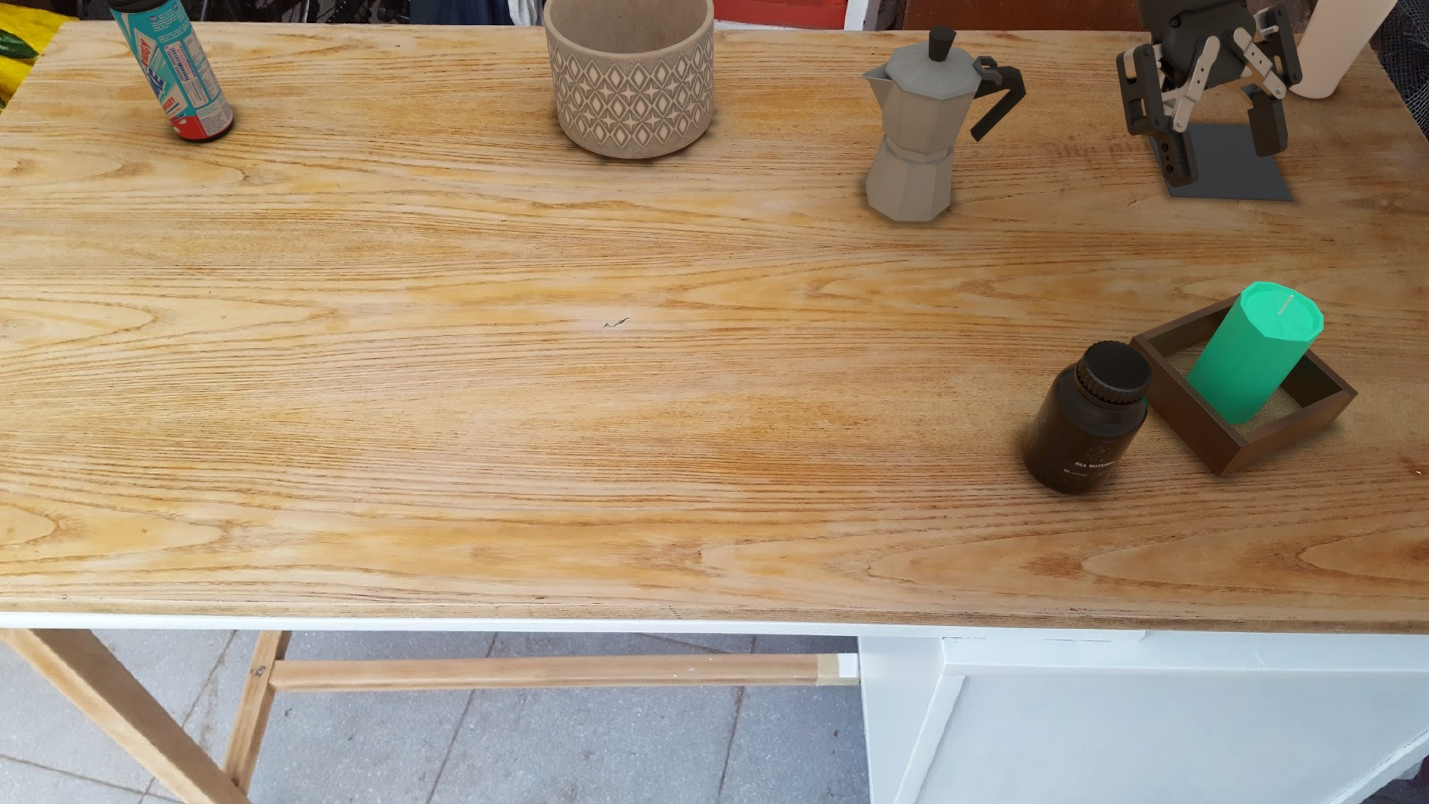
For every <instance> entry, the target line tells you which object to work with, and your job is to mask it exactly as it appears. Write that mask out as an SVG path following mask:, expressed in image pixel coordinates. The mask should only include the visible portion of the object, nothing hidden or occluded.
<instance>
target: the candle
mask: <svg viewBox="0 0 1429 804" xmlns="http://www.w3.org/2000/svg"><path fill="white" fill-rule="evenodd" d="M1240 293H1241V294H1240V295H1239V297H1238V299H1237V300H1236V302H1235V303H1234V305H1233V306H1232V308H1231V309H1230V311H1229V312H1228V314H1227V315H1226V317H1225V319H1224V320H1223V322H1222V323H1221V325H1220V326H1219V328H1218V329H1217V331H1216V332H1215V334H1214V336H1213V337H1211V338H1210V340H1209V342H1208V343H1207V345H1206V346H1205V348H1203V349H1204V350H1203V351H1202V352H1201V354H1200V356H1199V357H1198V359H1197V360H1196V361H1195V363H1194V365H1193V366H1192V368H1191V370H1190V371H1189V372H1188V374H1187V375H1186V378H1185V379H1186V380H1187V381H1188V382H1189V383H1190V384H1191V385H1192V386H1193V387H1194V388H1195V390H1196V391H1197V392H1198V393H1199V394H1200V395H1201V396H1202V397H1203V398H1204V399H1205V400H1206V401H1207V402H1208V403H1209V404H1210V405H1211V406H1212V407H1213V408H1214V409H1215V410H1216V411H1217V412H1218V413H1219V414H1220V415H1221V416H1222V417H1223V418H1224V419H1225V420H1226V421H1227V422H1228V423H1229V424H1230V425H1237V424H1238V425H1239V424H1246V423H1247V422H1249V421H1250V420H1251V419H1253V418H1254V417H1256V416H1257V415H1258V414H1259V412H1260V411H1261V410H1262V408H1263V407H1264V406H1265V404H1267V402H1268V401H1269V399H1270V398H1271V397H1272V396H1273V394H1274V393H1275V392H1276V390H1277V389H1278V388H1279V387H1280V384H1281V383H1282V381H1283V380H1284V379H1285V378H1286V376H1287V375H1288V374H1289V372H1290V371H1291V370H1292V369H1293V367H1294V366H1295V365H1296V363H1297V362H1298V361H1299V360H1300V358H1301V357H1302V356H1303V355H1304V353H1305V352H1306V351H1307V349H1308V348H1309V349H1310V347H1311V346H1312V344H1313V343H1314V342H1315V340H1316V339H1317V338H1318V337H1319V336H1320V335H1321V333H1322V332H1323V330H1324V318H1325V317H1324V316H1325V315H1324V314H1323V313H1322V311H1321V310H1320V309H1319V307H1318V306H1317V304H1316V303H1315V301H1314V300H1313V299H1310V298H1309V297H1307V296H1305V295H1303V294H1302V293H1300V292H1299V291H1297V290H1295V289H1292V288H1290V287H1287V286H1284V285H1282V284H1279V283H1277V282H1273V281H1257V280H1255V281H1254V282H1253V283H1251V284H1250V285H1249V286H1247V287H1246V288H1244V289H1243V290H1242V291H1241V292H1240Z"/></svg>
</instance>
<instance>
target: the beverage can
mask: <svg viewBox="0 0 1429 804" xmlns="http://www.w3.org/2000/svg"><path fill="white" fill-rule="evenodd" d="M105 3H106V5H107V7H108V8H109V10H110V13H111V15H112V16H113V19H114V20H115V22H116V24H117V26H118V28H119V30H120V31H121V33H122V35H123V37H124V39H125V41H126V43H127V45H128V47H129V49H130V51H131V53H132V54H133V56H134V59H135V60H136V61H137V63H138V65H139V67H140V69H141V72H142V73H143V75H144V76H145V78H146V80H147V82H148V84H149V86H150V87H151V89H152V91H153V93H154V95H155V97H156V99H157V100H158V102H159V104H160V106H161V108H162V110H163V112H164V114H165V116H166V117H167V120H168V121H169V123H170V125H171V126H172V128H173V130H174V132H175V133H176V134H177V136H179V137H180V138H181V139H183V140H185V141H187V142H189V143H190V142H191V143H207V142H211V141H214V140H216V139H219V138H221V137H223V136H225V134H227V133H228V132H229V131H230V130H231V129H232V127H233V125H234V113H233V110H232V109H231V106H230V104H229V102H228V100H227V97H226V96H225V93H224V91H223V89H222V87H221V85H220V83H219V81H218V78H217V76H216V75H215V72H214V70H213V68H212V65H211V63H210V61H209V59H208V57H207V55H206V52H205V51H204V48H203V46H202V43H201V41H200V40H199V38H198V35H197V33H196V31H195V29H194V27H193V25H192V23H191V21H190V19H189V16H188V14H187V12H186V10H185V8H184V6H183V4H182V2H181V0H105Z"/></svg>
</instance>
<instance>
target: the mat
mask: <svg viewBox="0 0 1429 804" xmlns="http://www.w3.org/2000/svg"><path fill="white" fill-rule="evenodd" d="M1186 131H1190V134H1191V138H1192V143H1193V148H1194V153H1195V157H1196V162H1197V167H1198V172H1199V180H1198V181H1197V182H1195V183H1192V184H1189V185H1185V186H1179V187H1172V186H1171V185H1170V184H1169V182H1168V181H1167V180H1166V179H1165V177H1164V175H1163V171H1162V166H1161V161H1160V157H1159V152H1158V148H1157V143H1156V141H1155V139H1154V138H1152V137H1151V136H1147V137H1148V139H1149V142H1150V144H1151V147H1152V150H1153V153H1154V155H1155V158H1156V160H1157V163H1158V166H1159V169H1160V171H1161V174H1162V177H1163V179H1164V182H1165V185H1166V187H1167V190H1168V193H1169V196H1170V197H1171V198H1193V199H1194V198H1196V199H1220V200H1243V201H1244V200H1249V201H1270V202H1271V201H1272V202H1273V201H1274V202H1294V200H1295V199H1294V198H1293V196H1292V195H1291V191H1290V190H1289V188H1288V186H1287V184H1286V182H1285V179H1284V178H1283V176H1282V173H1281V171H1280V169H1279V167H1278V166H1277V163H1276V161H1275V159H1274V157H1273V155H1269V156H1264V157H1259V156H1258V155H1257V154H1256V152H1255V147H1254V142H1253V137H1252V132H1251V127H1250V124H1249V125H1247V124H1245V125H1244V124H1221V123H1220V124H1219V123H1216V124H1215V123H1194V122H1193V123H1191V122H1188V124H1187V127H1186V129H1185V130H1184V131H1183V132H1186Z"/></svg>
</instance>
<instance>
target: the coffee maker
mask: <svg viewBox="0 0 1429 804" xmlns="http://www.w3.org/2000/svg"><path fill="white" fill-rule="evenodd" d="M956 37H957V31H956V30H955V29H953V28H952V27H950V26H946V25H941V24H940V25H936V26H932V27H931V28H930V30H929V32H928V40H925V41H921V42H918V43H913V44H908V45H906V46H902V47H896V48H894V50H893V52H892V54H891V56H890V57H889V60H888V61H886V62H884V63H882V64H880V65H878V66H876V67H874V68H872V69H870V70H867V71H865V72H864V73H861V74H860V77H861V78H863V79H865V80H866V81H868V82H869V85H870V87H871V90H872V92H873V94H874V96H875V99H876V101H877V103H878V106H879V108H880V110H881V120H882V121H881V122H882V130H883V132H884V134H883V135H882V138H881V141H880V143H879V145H878V148H877V150H876V154H875V156H874V159H873V161H872V163H871V167H870V169H869V171H868V174H867V177H866V180H865V183H864V185H865V189H866V190H865V192H866V197H867V202H868V206H869V207H871V208H872V209H875V210H876V211H877V212H879V213H881V214H883V215H884V216H886V217H887V218H889V219H891V220H893V221H895V222H931V221H932V220H933V219H934V218H935V217H937V216H938V215H939V214H940V213H942V212H943V211H944V210H945V209H947V208H948V207H949V206H950V205H951V195H952V179H953V164H954V146H955V143H956V142H957V138H958V136H959V134H960V132H961V129H962V127H963V124H964V123H965V120H966V117H967V115H968V112H969V109H970V108H971V105H972V102H973V100H976V99H979V98H984V97H986V96H989V95H992V94H995V93H999V92H1002V91H1004V90H1005V91H1006V90H1008V91H1007V92H1006V93H1005V94H1004V96H1002V97H1001V98H1000V100H998V102H996V104H994V106H992V107H991V108H990V109H989V110H988V111H987V112H986V113H985V115H983V116H982V117H981V118H980V120H978V121H977V122H976V123H975V124H974V126H972V127H971V128H970V129H969V131H970V132H969V133H970V135H971V137H972V139H974V140H975V141H976V143H979V142H980V141H981V140H982V139H983V138H984V137H985V136H986V135H987V134H988V133H989V132H990V131H992V129H993V128H995V126H996V125H998V123H999V122H1001V120H1002V119H1003V118H1004V117H1006V115H1008V114H1009V113H1010V112H1011V111H1012V109H1014V108H1015V107H1016V106H1017V105H1018V104H1019V103H1020V102H1021V101H1022V100H1023V99H1024V98H1025V97H1026V95H1027V90H1026V86H1025V83H1024V79H1023V76H1022V72H1021V69H1020V68H1017V67H1014V66H1012V65H1001V66H998V62H997V60H996V59H994V57H992V55H977V57H976V58H974V57H973V56H972V55H971V54H969V52H967V51H966V50H965V48H960V47H956V46H953V43H954V41H955V39H956Z"/></svg>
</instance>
